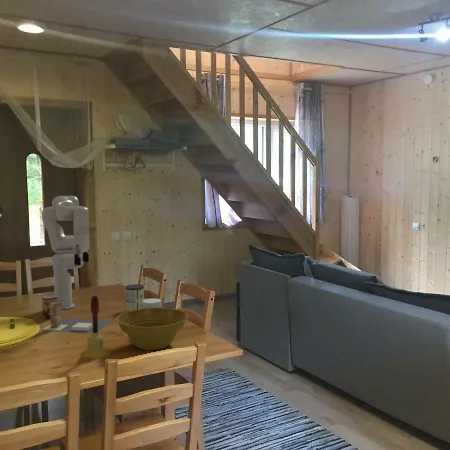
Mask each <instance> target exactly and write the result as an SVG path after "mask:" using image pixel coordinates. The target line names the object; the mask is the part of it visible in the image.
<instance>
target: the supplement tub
mask: <svg viewBox="0 0 450 450" xmlns="http://www.w3.org/2000/svg"><path fill="white" fill-rule="evenodd" d="M143 308H163V307H162V300H161V299H159V298H144V300H143V301H142V309H143Z"/></svg>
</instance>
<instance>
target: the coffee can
mask: <svg viewBox="0 0 450 450" xmlns="http://www.w3.org/2000/svg"><path fill="white" fill-rule="evenodd" d="M144 288H145V285H144V284H135V283H134V284H128V285H125V308H126V309H125V312H127V311H131V310H136V309H142V301H143V300H145V289H144Z"/></svg>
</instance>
